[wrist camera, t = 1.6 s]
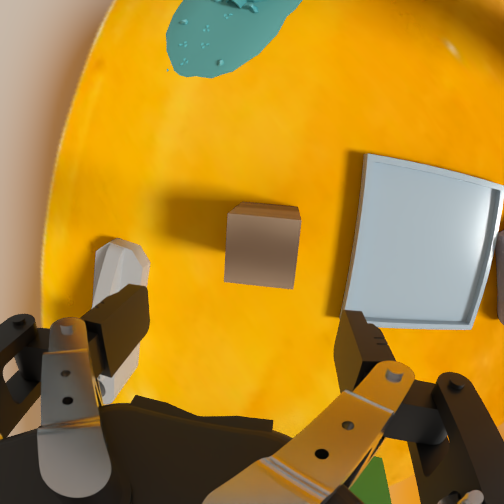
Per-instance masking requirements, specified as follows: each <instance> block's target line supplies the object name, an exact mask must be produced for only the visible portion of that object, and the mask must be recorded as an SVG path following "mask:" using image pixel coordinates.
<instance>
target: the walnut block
mask: <svg viewBox="0 0 504 504" xmlns="http://www.w3.org/2000/svg"><path fill="white" fill-rule="evenodd" d="M300 228H301V217H300V213H299V209H298V207H293V206H283V205H273V204H262V203H251V202H241V203H240V204H239V205H238V206H236V207H235V208H234V209H233V210H231V211H230V212H229V213H228V217H227V234H226V253H225V274H224V282H230V283H239V284H248V285H257V286H266V287H275V288H285V289H293V286H294V279H295V271H296V263H297V254H298V246H299V237H300Z"/></svg>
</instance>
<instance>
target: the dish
mask: <svg viewBox="0 0 504 504" xmlns="http://www.w3.org/2000/svg"><path fill="white" fill-rule="evenodd" d="M503 199H504V186H503V185H500V184H497V183H493V182H490V181H487V180H483V179H480V178H476V177H473V176H469V175H465V174H462V173H458V172H454V171H450V170H446V169H442V168H438V167H434V166H429V165H425V164H420V163H416V162H411V161H406V160H401V159H396V158H391V157H385V156H380V155H374V154H364V159H363V170H362V180H361V189H360V198H359V206H358V214H357V221H356V228H355V235H354V242H353V248H352V254H351V260H350V266H349V272H348V277H347V283H346V288H345V293H344V298H343V303H342V308H341V313H340V318H341V314H342V311H343V310H355V311H362V312H363V315H364V317H365V319H366V321H367V323H371V324H374V325H375V326H376V327H384V328H408V329H455V330H471V329H472V326H473V323H474V320H475V318H476V315H477V312H478V309H479V306H480V302H481V299H482V296H483V293H484V289H485V286H486V282H487V279H488V275H489V271H490V267H491V263H492V259H493V255H494V250H495V246H496V241H497V236H498V231H499V225H500V219H501V213H502V206H503Z"/></svg>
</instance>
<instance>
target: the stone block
mask: <svg viewBox="0 0 504 504" xmlns="http://www.w3.org/2000/svg"><path fill="white" fill-rule="evenodd" d="M495 253H496V267H497V289H498V296H497V313H498V318H499V320H500V322H501V323H502V324H503V325H504V230H503V231H501V232H499V233H498V236H497V241H496V246H495Z"/></svg>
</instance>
